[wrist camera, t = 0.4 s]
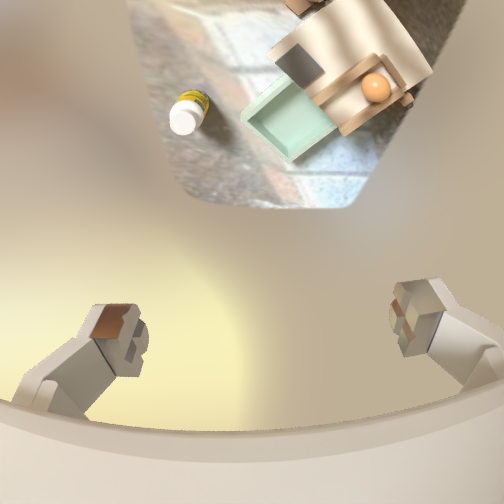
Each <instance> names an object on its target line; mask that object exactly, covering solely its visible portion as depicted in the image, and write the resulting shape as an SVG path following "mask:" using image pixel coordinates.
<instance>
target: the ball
mask: <svg viewBox="0 0 504 504" xmlns="http://www.w3.org/2000/svg"><path fill="white" fill-rule="evenodd" d="M361 90H362V93H363V94H364V96H365V97H366V98H367V99H369V100H370V101H373V102H382V101H384V100H386V99H387V98H388V97H389V95H390V92H391V86H390V83H389V81H388V80H387V78H386V77H384V76H383V75H381V74H378V73H371V74H368V75H366V76H365V77H364V78H363V80H362V82H361Z"/></svg>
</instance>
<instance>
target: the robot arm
mask: <svg viewBox="0 0 504 504" xmlns="http://www.w3.org/2000/svg"><path fill="white" fill-rule="evenodd" d="M393 293H394V296H395V298H396V299H395V300H394V301H393V302H392V303H391V305H390V310H389V318H390V319H389V320H390V324H391V327H392V330H393V332H394V333H396V334H397V335H399V339H398V344H399V346H400V349H401V351H402V353H403V356H404V357H409V356H414V355H420V354H425V353H427V355H428V356H429V357H431V358H432V359H433V360H434V361H435V362H437V363H438V364H439V365H440V366H441V367H442V368H444V369H445V370H446V371H447V372H448V373H449V374H450V375H452V376H453V377H454V378H455V379H456V380H457V381H458V382H460V383H461V384H462V385H463V388H462V390H461V391H460V393H459V394H458V395H455V396H451V397H448V398H445V399H442V400H438V401H435V402H432V403H428V404H424V405H421V406H417V407H413V408H408V409H404V410H400V411H396V412H391V413H387V414H382V415H378V416H373V417H367V418H362V419H357V420H350V421H344V422H338V423H331V424H324V425H315V426H307V427H298V428H288V429H287V428H286V429H274V430H255V431H183V430H165V429H151V428H141V427H132V426H123V425H116V424H108V423H102V422H95V421H90V420H89V419H88V418H87V417H86V416H85V415H84V413H85V411H87V409H88V408H89V407H90V406H91V405H92V404H93V403H94V402H95V401H96V400H97V398H98V397H99V396H100V395H101V394H102V393H103V392H104V391H105V389H106V388H107V387H108V386H109V385H110V384H111V383H112V382H113V381H114V380H115V379H116V376H120V377H139V375H140V372H141V368H142V365H143V359H142V357H141V355H142V354H143V353H145V352H146V351H147V347H148V341H149V334H148V330H147V327H146V324H145V323H144V322H143V321H142V320H140V319H139V317H140V314H141V312H140V310H139V308H138V306H137V305H136V304H95V305H93V306H92V308H91V310H90V312H89V313H88V315H87V317H86V319H85V321H84V323H83V325H82V327H81V329H80V331H79V333H78V335H77V337H76V338H71V339H70V340H69V341H67V342H66V343H65V344H63V345H62V346H61V347H59V348H58V349H57V350H55V351H54V352H53V353H51V354H50V355H49V356H48V357H46V358H45V359H44V360H42V361H41V362H40V363H39V364H37V365H36V366H35V367H33V368H32V369H31V370H30V371H28V372H27V373H26V374H24V376H23V378H22V381H21V382H20V385H19V387H18V389H17V391H16V393H15V395H14V397H13V399H12V402H9V401H5V400H2V399H0V504H504V330H503V329H501V328H500V327H498V326H496V325H495V324H493V323H491V322H489V321H488V320H486V319H484V318H482V317H481V316H479V315H477V314H475V313H474V312H472V311H470V310H468V309H466V308H465V307H463V308H461V307H460V306H459V305H458V303H457V302H456V300H455V299H454V297H453V296H452V294H451V293H450V292H449V290H448V289H447V287H446V286H445V284H444V283H443V281H442V280H441V279H440V278H439V277H431V278H425V279H421V280H413V281H406V282H398V283H396V285H395V287H394V291H393Z"/></svg>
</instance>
